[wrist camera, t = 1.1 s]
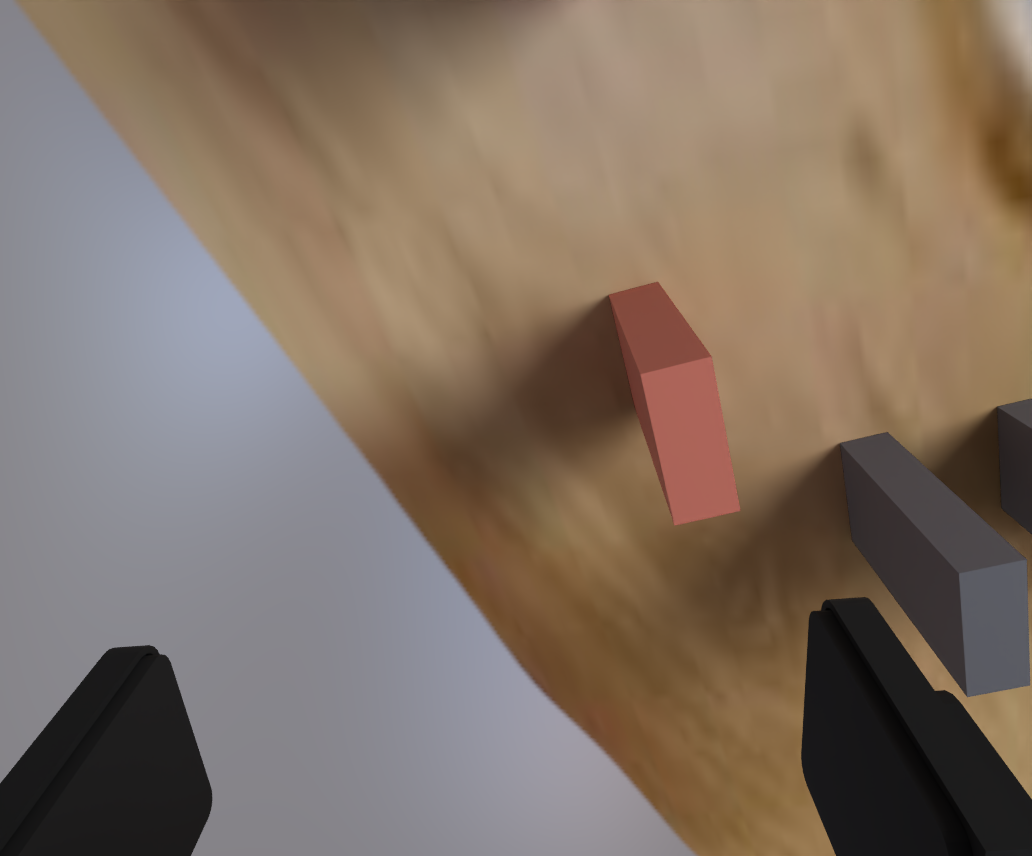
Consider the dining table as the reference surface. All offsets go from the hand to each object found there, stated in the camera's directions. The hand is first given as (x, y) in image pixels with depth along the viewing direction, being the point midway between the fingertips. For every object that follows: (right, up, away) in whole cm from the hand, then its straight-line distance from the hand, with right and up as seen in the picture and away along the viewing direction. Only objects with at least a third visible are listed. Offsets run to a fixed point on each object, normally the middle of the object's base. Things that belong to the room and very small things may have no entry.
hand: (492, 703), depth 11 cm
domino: (+16, +1, +23) cm, 28 cm away
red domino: (+6, +7, +20) cm, 22 cm away
